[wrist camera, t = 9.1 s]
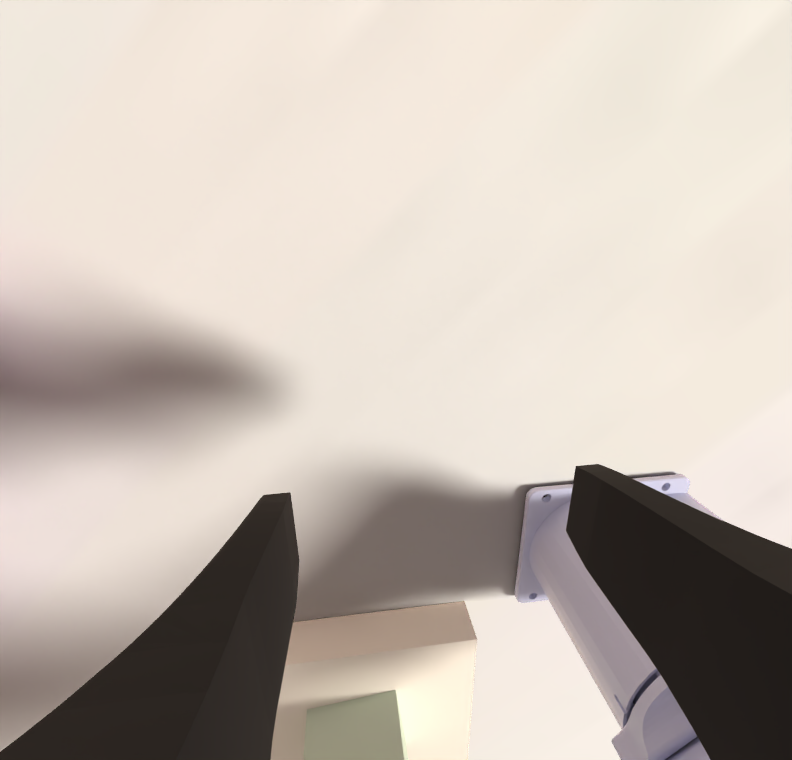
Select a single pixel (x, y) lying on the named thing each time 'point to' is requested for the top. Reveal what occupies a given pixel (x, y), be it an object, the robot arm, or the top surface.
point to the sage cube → (356, 730)
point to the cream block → (384, 675)
